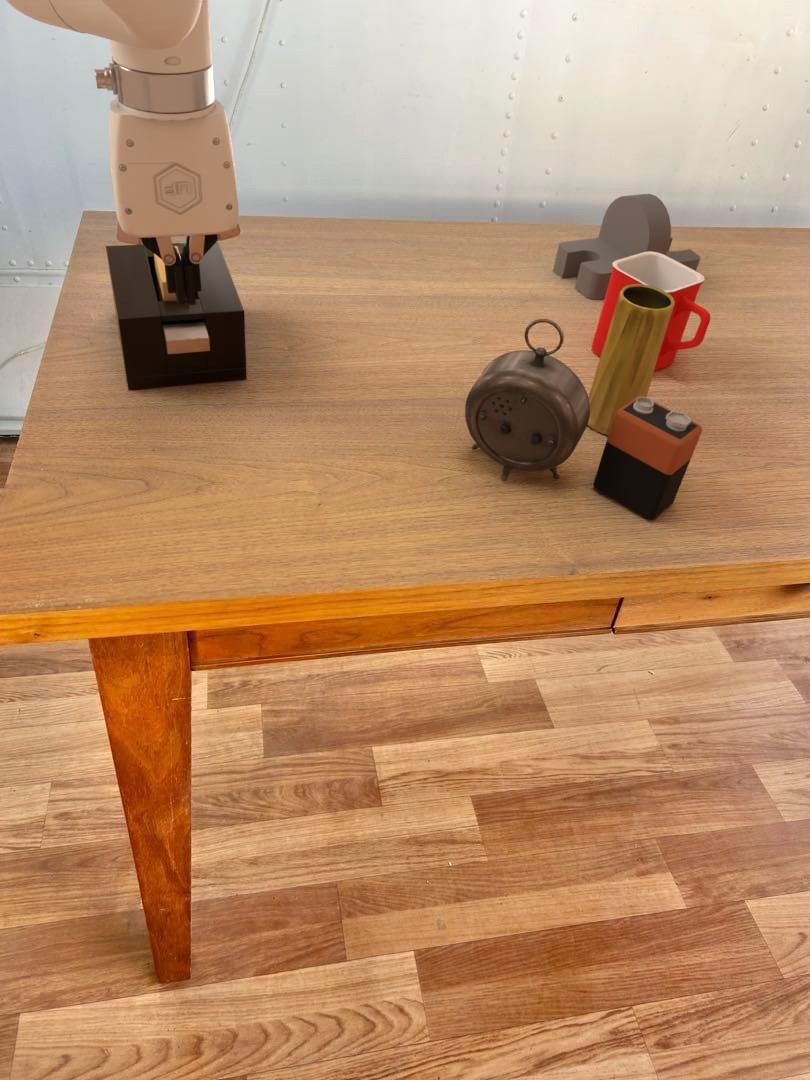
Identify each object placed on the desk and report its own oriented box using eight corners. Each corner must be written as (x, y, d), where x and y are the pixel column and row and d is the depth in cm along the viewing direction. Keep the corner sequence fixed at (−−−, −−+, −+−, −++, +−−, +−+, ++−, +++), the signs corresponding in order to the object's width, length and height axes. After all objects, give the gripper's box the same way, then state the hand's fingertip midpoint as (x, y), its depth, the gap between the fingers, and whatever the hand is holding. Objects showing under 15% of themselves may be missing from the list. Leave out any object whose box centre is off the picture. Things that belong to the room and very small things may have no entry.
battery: (650, 524, 79) (684, 436, 72) (589, 488, 82) (617, 401, 76) (674, 504, 82) (709, 417, 75) (614, 470, 85) (642, 384, 78)
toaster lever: (167, 354, 82) (166, 340, 81) (164, 338, 84) (162, 324, 83) (210, 351, 83) (209, 337, 82) (205, 335, 85) (204, 321, 84)
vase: (580, 431, 89) (616, 305, 80) (581, 400, 94) (615, 277, 84) (639, 441, 89) (682, 316, 79) (636, 409, 93) (677, 287, 84)
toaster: (128, 390, 87) (118, 319, 82) (115, 313, 98) (105, 245, 92) (246, 379, 90) (244, 310, 85) (221, 306, 101) (218, 241, 96)
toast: (169, 353, 90) (161, 282, 85) (160, 316, 95) (152, 246, 90) (193, 351, 91) (187, 280, 85) (183, 314, 96) (177, 245, 91)
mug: (583, 348, 102) (605, 263, 95) (628, 331, 106) (653, 249, 99) (660, 397, 96) (691, 310, 89) (706, 377, 100) (738, 293, 93)
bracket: (695, 283, 119) (722, 205, 111) (590, 300, 112) (611, 218, 104) (652, 253, 125) (674, 178, 117) (549, 268, 118) (567, 189, 110)
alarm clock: (573, 474, 84) (617, 324, 73) (557, 505, 80) (600, 352, 69) (470, 438, 86) (497, 289, 75) (449, 467, 83) (474, 313, 72)
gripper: (67, 102, 63) (104, 325, 76) (268, 101, 68) (272, 312, 80) (63, 71, 68) (98, 284, 81) (250, 72, 73) (256, 274, 85)
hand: (184, 298), depth 80 cm, fingers closed
